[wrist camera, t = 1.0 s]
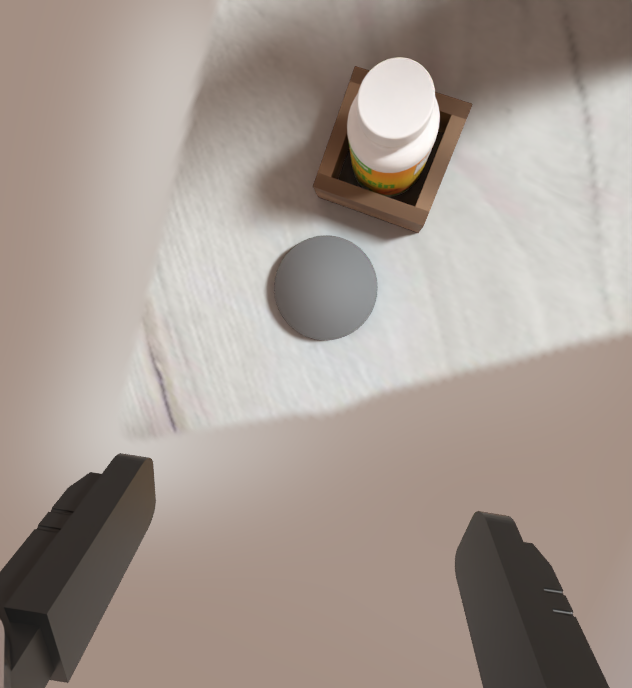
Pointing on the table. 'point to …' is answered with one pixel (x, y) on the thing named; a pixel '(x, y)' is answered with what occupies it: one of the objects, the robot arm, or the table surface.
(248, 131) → the table surface
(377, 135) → the supplement bottle
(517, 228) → the table surface
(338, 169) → the walnut collar
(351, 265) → the rubber coaster
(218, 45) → the table surface
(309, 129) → the table surface
